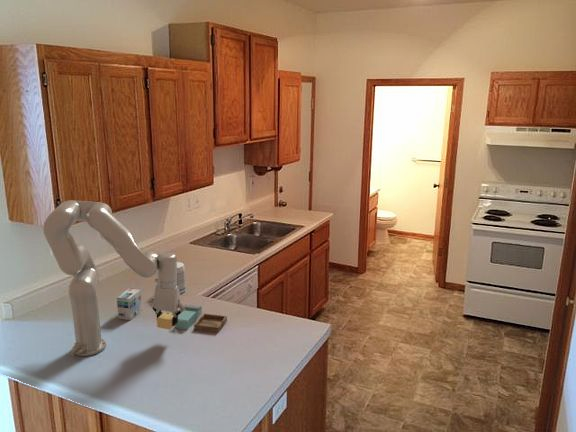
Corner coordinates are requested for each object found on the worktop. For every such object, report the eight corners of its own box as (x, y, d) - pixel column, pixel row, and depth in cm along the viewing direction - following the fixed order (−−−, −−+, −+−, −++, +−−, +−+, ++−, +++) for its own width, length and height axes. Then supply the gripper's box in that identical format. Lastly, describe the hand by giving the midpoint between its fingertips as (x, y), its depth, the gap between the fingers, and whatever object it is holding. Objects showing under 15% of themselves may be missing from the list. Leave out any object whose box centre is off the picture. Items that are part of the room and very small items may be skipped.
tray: (218, 332, 201) (218, 327, 201) (194, 329, 204) (194, 324, 203) (226, 321, 212) (226, 316, 211) (204, 318, 214) (203, 313, 214)
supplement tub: (188, 288, 247) (187, 262, 244) (181, 295, 238) (180, 268, 234) (171, 286, 249) (170, 261, 245) (163, 294, 240) (162, 267, 236)
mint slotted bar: (189, 329, 204) (188, 319, 202) (173, 327, 205) (172, 317, 204) (203, 313, 219) (203, 303, 217) (188, 312, 220) (188, 301, 219)
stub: (170, 329, 189) (170, 320, 188) (157, 327, 191) (157, 317, 190) (177, 323, 195) (177, 314, 194) (164, 320, 196) (164, 311, 195)
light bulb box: (131, 320, 211) (129, 298, 209) (117, 318, 213) (115, 297, 210) (142, 310, 221) (141, 289, 219) (129, 308, 223) (128, 288, 220)
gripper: (143, 283, 187) (143, 324, 191) (183, 289, 183) (182, 330, 187) (152, 277, 194) (152, 316, 198) (190, 282, 190) (190, 322, 195)
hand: (167, 323), depth 193 cm, fingers closed on stub, 6 cm apart
